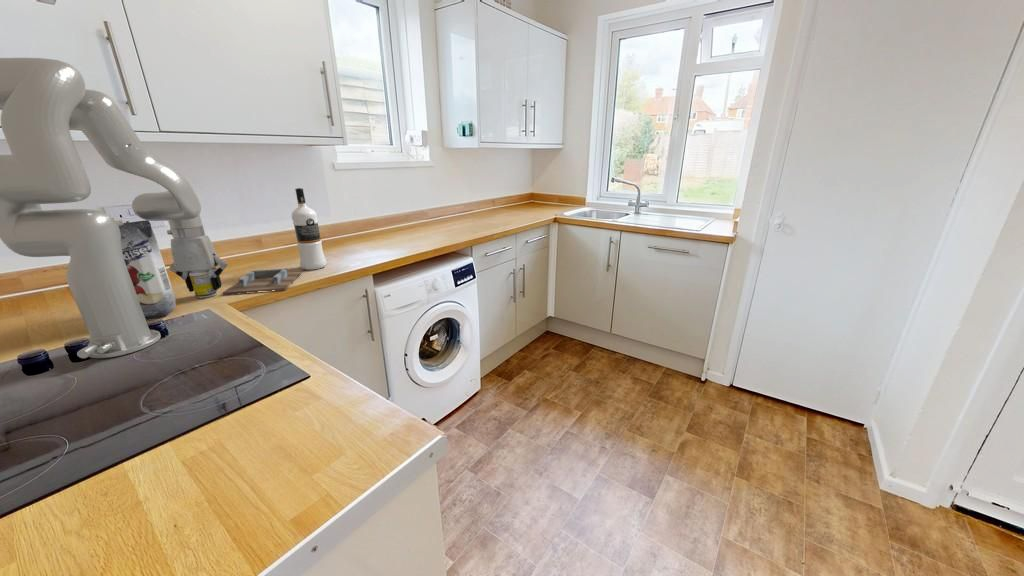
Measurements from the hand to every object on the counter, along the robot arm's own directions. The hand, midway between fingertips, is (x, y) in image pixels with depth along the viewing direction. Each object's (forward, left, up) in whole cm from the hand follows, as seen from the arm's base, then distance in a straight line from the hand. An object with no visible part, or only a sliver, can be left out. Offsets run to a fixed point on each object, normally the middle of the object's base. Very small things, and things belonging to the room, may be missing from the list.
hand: (205, 289), depth 122 cm
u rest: (+8, -14, -2) cm, 16 cm away
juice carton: (-14, +7, -2) cm, 16 cm away
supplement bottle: (0, 0, -2) cm, 2 cm away
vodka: (+26, -25, -2) cm, 36 cm away
